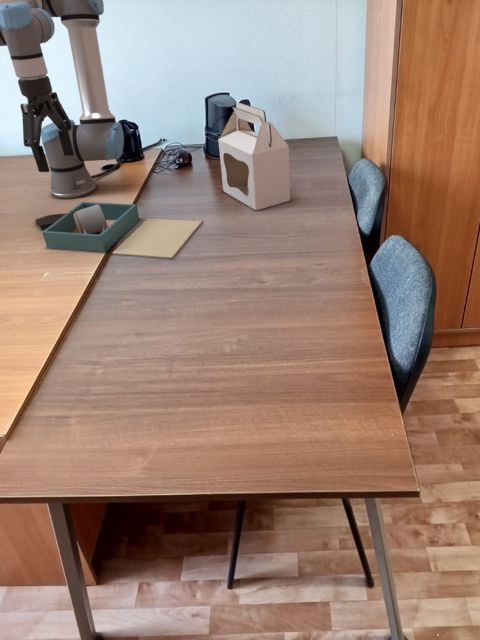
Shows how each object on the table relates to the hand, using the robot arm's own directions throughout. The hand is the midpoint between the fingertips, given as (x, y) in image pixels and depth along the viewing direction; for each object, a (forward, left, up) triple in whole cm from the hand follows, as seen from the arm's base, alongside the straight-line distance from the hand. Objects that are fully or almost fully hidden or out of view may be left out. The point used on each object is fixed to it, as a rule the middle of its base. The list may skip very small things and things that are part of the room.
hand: (57, 163), depth 145 cm
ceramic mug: (-4, +3, -22) cm, 23 cm away
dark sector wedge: (-10, -14, -22) cm, 28 cm away
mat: (-4, +24, -22) cm, 33 cm away
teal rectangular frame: (-4, +3, -22) cm, 23 cm away
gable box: (-39, +44, -22) cm, 63 cm away
